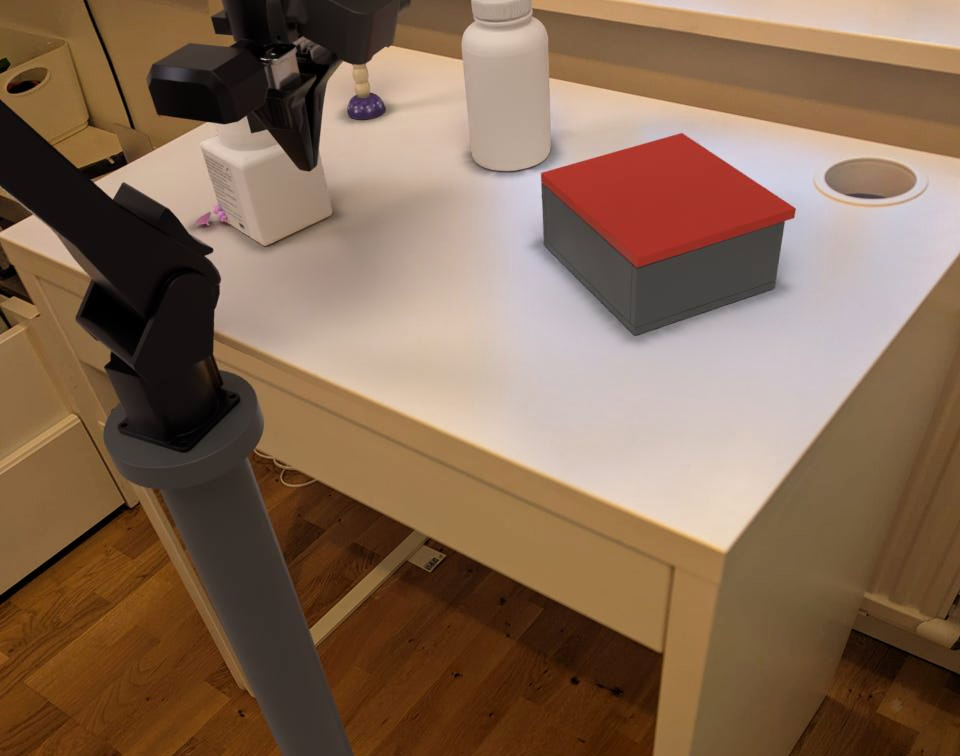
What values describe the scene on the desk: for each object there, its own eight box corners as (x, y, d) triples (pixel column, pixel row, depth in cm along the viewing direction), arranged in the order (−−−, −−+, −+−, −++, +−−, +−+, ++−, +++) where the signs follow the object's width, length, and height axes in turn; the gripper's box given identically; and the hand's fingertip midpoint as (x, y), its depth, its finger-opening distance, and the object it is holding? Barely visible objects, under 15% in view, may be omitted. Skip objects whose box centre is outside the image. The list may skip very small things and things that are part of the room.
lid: (681, 141, 79) (682, 132, 78) (794, 218, 69) (796, 208, 68) (540, 181, 76) (540, 172, 76) (636, 268, 66) (637, 258, 65)
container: (290, 190, 92) (256, 52, 83) (335, 215, 87) (304, 72, 78) (222, 221, 88) (178, 80, 79) (264, 248, 84) (223, 103, 75)
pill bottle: (495, 181, 89) (481, 13, 79) (458, 152, 94) (440, -10, 84) (567, 158, 91) (563, -9, 81) (526, 130, 97) (517, -30, 86)
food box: (669, 206, 83) (673, 144, 79) (775, 288, 72) (785, 221, 68) (543, 245, 80) (540, 182, 76) (634, 336, 70) (636, 268, 66)
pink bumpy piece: (211, 238, 89) (203, 239, 87) (200, 224, 89) (192, 224, 87) (233, 217, 88) (225, 218, 86) (222, 203, 88) (214, 204, 86)
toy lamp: (395, 104, 104) (370, -64, 93) (380, 122, 101) (352, -50, 90) (356, 103, 106) (326, -64, 94) (340, 120, 103) (307, -50, 91)
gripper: (266, -31, 45) (330, 255, 56) (447, -128, 57) (471, 126, 68) (97, -42, 50) (188, 227, 61) (297, -130, 61) (343, 109, 72)
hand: (308, 168), depth 65 cm, fingers closed
